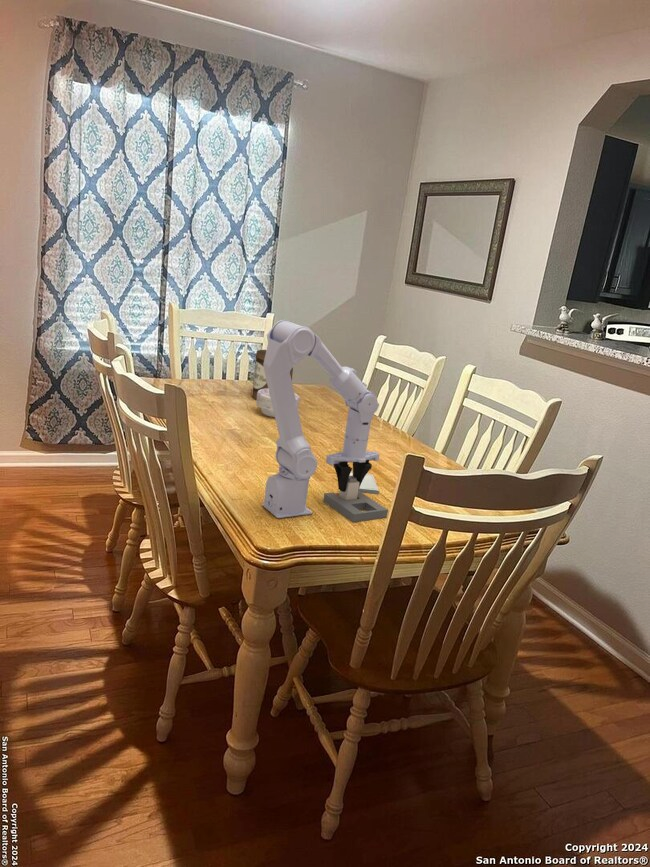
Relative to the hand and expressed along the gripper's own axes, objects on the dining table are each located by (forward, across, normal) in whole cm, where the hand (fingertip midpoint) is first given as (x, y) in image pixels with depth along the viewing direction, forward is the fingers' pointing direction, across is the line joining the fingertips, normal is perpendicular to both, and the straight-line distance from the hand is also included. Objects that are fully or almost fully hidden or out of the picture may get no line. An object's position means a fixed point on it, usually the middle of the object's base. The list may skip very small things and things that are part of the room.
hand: (348, 489), depth 162 cm
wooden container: (+4, +31, +98) cm, 102 cm away
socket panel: (+4, 0, -4) cm, 5 cm away
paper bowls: (+4, +22, +76) cm, 80 cm away
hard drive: (+4, +12, +10) cm, 16 cm away
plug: (+3, 0, 0) cm, 4 cm away
